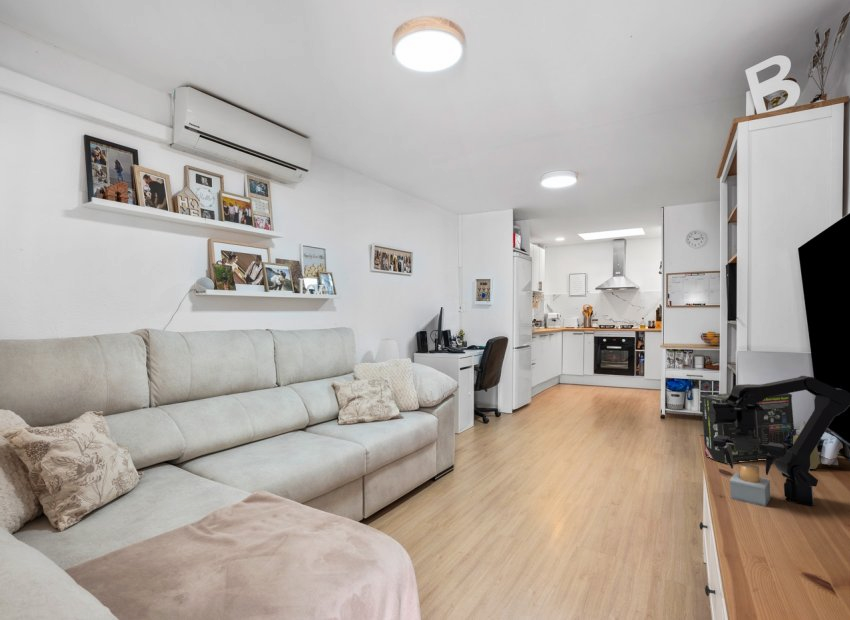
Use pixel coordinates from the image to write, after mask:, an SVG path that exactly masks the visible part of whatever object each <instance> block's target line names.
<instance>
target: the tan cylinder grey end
mask: <svg viewBox="0 0 850 620" xmlns="http://www.w3.org/2000/svg"><path fill="white" fill-rule="evenodd" d="M738 466H739V468H738V469H739V470H738V471H739V473H740V479H741V480H743V481H747V482H752V483H758V482H760V467H759V466H758V465H756V464H752V463H748V462H743V463H738Z"/></svg>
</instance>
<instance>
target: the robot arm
mask: <svg viewBox="0 0 850 620" xmlns="http://www.w3.org/2000/svg"><path fill="white" fill-rule="evenodd" d="M802 391H807V392H808V393H810V394H812V395H813V396H815V397H814V402H813V403H814V410H813V411H812V413H811V415H810V416H809V418H808V420H807V421H806V422H805V423H806V425H805V426H804V428H803V429H802V431H801V433H800V434H799V436H798V438H797V439H796V441H795V443H794V444H793V446H792V447H791V448H789V449H787V450H786V447H785V446H784V445H783V444H779V443H772V442H769V444H768V445H765V444H761V440H760V437H758V428H757V412H756V411H764V409H763V408H762V407H760V406H759V404H758V402H761V401H763V400H765V399H766V398H768V397H771V396H776V395H782V394H787V393H788V394H793V393H796V392H802ZM730 393H731V394H730V395H729V397H728V398H727V399H726V400H725V402H724V403H710V404H711V406H710V407H709V411H708V417H709V420H710V422H711V423H722V424H732V423H733V422H736V432H735V435H734V439H733V440H730V437H729V436H722V435H717V436H716V437H714V438H713V440H712V442H713V446H717V448H718V449H721V450H722V451H723V452H724V454H725V456H726V458H727V460H728V462H729V464H728V465H729V466H730V469H734V464H735V463H733V455H732V447H731V445H732V446H734V449H735V450H738V451H739V450H742V451H746V452H752V451H753V449H758V450H765V451H767V452H768V454H767V455H766V460H765V476H768V475H769V473H770V470H771V468H772V464H773V462H774V464H775V468H776V469H777V470H778V471H779V472H780V473H781V475H782V477H783V478H785V482H784V484H783V490H784V491H783V495H784V497H785V501H787V502H791V503H797V504H801V505H805V506H810V507H813V506H814V505H815V498H814V487H817V486H818V484H819V483H818V482H819V479H817V478H816V477H815V476H814V475H813V474H812V473H810V470H809V469H810V466H811V464H810V456H811V454H812V452H813V451H814V449H815V447H816V446H817V447H818V444H819V442H820V441H821V439H822V437H823V436H824V434H825V432H826V431H827V429H828V428H829V426H830V425H831V423H832V422H833V420H834V418H836V416H839V415H840V414H843V413H844V412H845V411H846V410H848V408H849V407H850V392H849V391H848V390H845V389H842V388H837V387H834V386H832V385H830V384H827V383H825V382H823V381H820V380H818V379H816V378H815V377H813V376H809V375H808V376H807V375H800V376H797V377H794V378H793V377H792V378H788V379H783V380H778V381H773V382H767V383H762V384H761V383H760V384H750V383H749V384H748V383H747V384H746V383H745V384H735V385H734V386H733V387H732V388H731V391H730ZM736 401H738V402H736Z"/></svg>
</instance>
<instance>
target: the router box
mask: <svg viewBox="0 0 850 620" xmlns="http://www.w3.org/2000/svg"><path fill="white" fill-rule="evenodd" d="M730 394H731V392H730V393H719V394H718V393H716V394H703V395H700V398H701V399H700V400H701V401H700V402H701V413H702V429H703V442H704V454H705V455H706V456H709V457H710V458H712V459H714V460H713V461H715V460H717V461H716V462H718V461H720V462H719V463H721V462H724V463H723V464H725V463H729V462H728V460H727V458H726V456H725V454H724V452H723V451H722V450H721V449H718V448H717V446H713V442H712V440H713V438H714V437H716V436H717V435H722V436H729V437H730V440H733V439H734V435H735V432H736V422H733V423H732V424H722V423H711V422H710V420H709V417H708V411H709V407H710V406H711V404H710V403H724V402H725V400H726V399H727V398H728V397H729V395H730ZM792 398H793V393H787V394H782V395H776V396H771V397H768V398H766V399H765V400H763V401H761V402H758V404H759V406H760V407H762V408H763V409H764V411H756V412H757V428H758V437H760V440H761V444H765V445H768V444H769V442H772V443H779V444H781V442H782V441H783V439H784V438H785V437H786V435H787V434H788V433H789V432H790V431H792V430H794V431H795V425H794V414H793V413H794V411H793V401H792V400H793V399H792ZM736 402H738V401H736ZM731 447H732V455H733V462H739V461H750V460H758V459H766V455H767V454H768V452H767V451H765V450H758V449H753V451H752V452H746V451H742V450H739V451H738V450H735V449H734V446H732V445H731ZM705 455H704V456H705ZM706 456H705V457H706ZM710 458H709V459H710ZM712 459H711V460H712Z"/></svg>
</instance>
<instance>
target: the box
mask: <svg viewBox="0 0 850 620" xmlns="http://www.w3.org/2000/svg"><path fill="white" fill-rule="evenodd" d="M770 482H771V481H770ZM770 482H769V484H768V485H767V487H766V488H765V489H761V488H756V487H752V486H747V485H742V484H737V483H732V482H730V481H729V484H730V485H729V487H730V499H731V500H735V501H739V502H744V503H747V504H748V503H749V504H751V505H756V506H761V507H767V505H768V503H769V501H770V500H771V498H772V497H771V483H770Z"/></svg>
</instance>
